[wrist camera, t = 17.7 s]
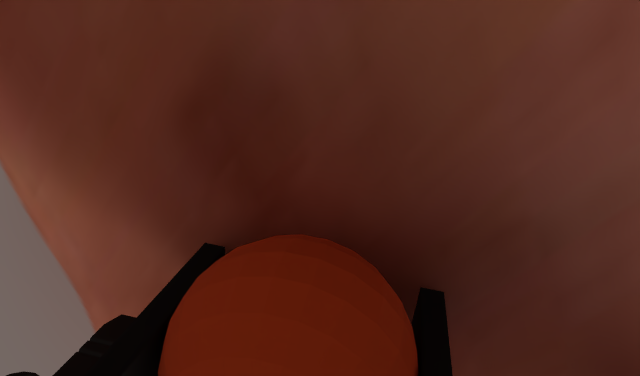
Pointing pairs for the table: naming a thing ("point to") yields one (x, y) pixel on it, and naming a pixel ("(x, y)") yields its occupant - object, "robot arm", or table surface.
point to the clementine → (290, 316)
